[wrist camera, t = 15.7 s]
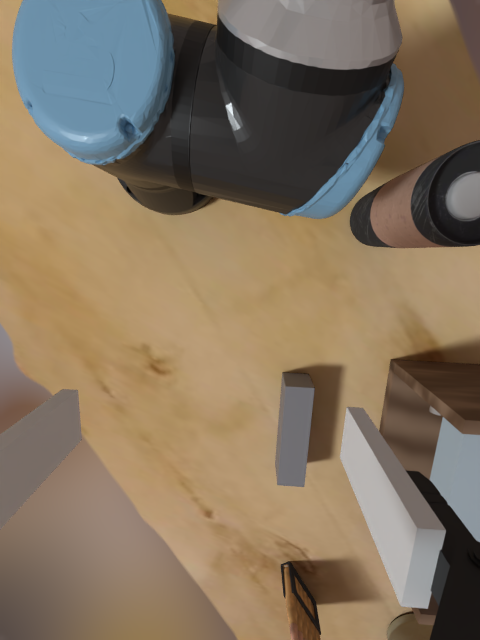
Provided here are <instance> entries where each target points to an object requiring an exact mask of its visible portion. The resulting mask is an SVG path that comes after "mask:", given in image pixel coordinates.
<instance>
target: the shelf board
mask: <svg viewBox="0 0 480 640" xmlns="http://www.w3.org/2000/svg"><path fill="white" fill-rule="evenodd" d="M430 481H431V482H432V483H433V484H434V485H435V487H436V488H437V489H438V491H439V492H440V495H441V496H443V497H444V499H445V500H446V501H447V503H448V505H450V507H451V508H452V509H453V511H454V512H455V513H456V514H457V516H458V517H459V518H460V520H461V521H462V522H463V524H464V525H465V526H466V528H467V529H468V530H469V532H470V533H471V534H472V536H473V537H474V538H475V540H476V541H478V542H480V435H471V434H462V433H461V432H460V431H458V430H457V429H456V428H455V427H454V426H453V425H452V424H451V423H449V422H448V421H447V420H446V419H445V418H444V417H443V419H442V423H441V428H440V433H439V438H438V442H437V447H436V452H435V457H434V461H433V466H432V471H431V476H430Z"/></svg>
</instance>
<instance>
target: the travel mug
mask: <svg viewBox="0 0 480 640" xmlns="http://www.w3.org/2000/svg"><path fill="white" fill-rule="evenodd" d="M350 227H351V230H352V233H353V235H354V236H355V237H356V239H357V240H359V241H360V242H361V243H363V244H365V245H369V246H376V247H391V248H426V247H464V246H476V245H480V140H479V141H474V142H471V143H468V144H465V145H463V146H460V147H458V148H456V149H454V150H452V151H450V152H448V153H446V154H444V155H442V156H440V157H437V158H435V159H433V160H431V161H429V162H427V163H425V164H423V165H421V166H419V167H417V168H415V169H413V170H410V171H408V172H406V173H404V174H402V175H400V176H398V177H396V178H394V179H392V180H390V181H389V182H387V183H385V184H383V185H382V186H380V187H378V188H377V189H375V190H373V191H372V192H370V193H368V194H367V195H365V196H364V197H362V198H361V199H360V200H359V201H358V202H357V203H356V205H355V206H354V208H353V210H352V213H351V216H350Z"/></svg>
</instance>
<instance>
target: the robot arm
mask: <svg viewBox="0 0 480 640" xmlns="http://www.w3.org/2000/svg"><path fill="white" fill-rule="evenodd" d="M401 43H402V33H401V29H400V25H399V21H398V17H397V13H396V9H395V5H394V0H218V16H217V25H214V24H210V23H205V22H201V21H197V20H193V19H189V18H185V17H180V16H176V15H172V14H168V13H167V12H166V9H165V7H164V5H163V3H162V1H161V0H23V1H22V4H21V6H20V8H19V11H18V15H17V18H16V22H15V27H14V32H13V42H12V60H13V69H14V75H15V79H16V83H17V87H18V90H19V93H20V96H21V98H22V101H23V103H24V105H25V107H26V108H27V109H28V111H29V114H30V115H31V116H32V117H33V119H34V121H35V123H36V125H37V126H38V127H39V128H40V129H41V130H42V132H43V133H44V134H45V135H46V136H47V137H49V138H50V139H51V140H52V141H53V142H55V143H56V144H57V145H59V146H61V147H62V148H63V149H64V150H65V151H66V152H68V153H69V154H70V155H71V156H72V157H73V158H77V159H78V160H80V161H81V162H84V163H87V164H92V165H94V166H96V167H98V168H100V169H102V170H104V171H106V172H108V173H109V174H111V175H113V176H115V177H117V178H118V180H119V182H120V183H121V185H122V186H123V188H124V189H125V190H126V192H127V193H128V194H129V195H130V196H131V197H132V198H133V199H134V200H136V201H137V202H138V203H140V204H141V205H143V206H144V207H146V208H148V209H151V210H153V211H156V212H159V213H162V214H167V215H182V214H187V213H190V212H193V211H195V210H197V209H199V208H201V207H203V206H204V205H205V204H207V203H208V202H209V201H210V200H211V199H212V198H213V197H216V198H220V199H224V200H228V201H233V202H237V203H241V204H245V205H249V206H254V207H258V208H262V209H266V210H270V211H275V212H279V213H280V214H282V215H284V216H287V215H288V216H294V215H297V216H303V217H308V218H314V219H322V218H327V217H330V216H333V215H334V214H336V213H338V212H339V211H340V210H342V209H343V208H344V207H345V206H346V205H347V204H348V203H349V202H350V201H351V200H352V199H353V197H354V196H355V195H356V194H357V192H358V191H359V190H360V188H361V187H362V186H363V184H364V183H365V181H366V180H367V178H368V176H369V175H370V173H371V172H372V170H373V168H374V166H375V165H376V163H377V161H378V159H379V157H380V155H381V153H382V151H383V149H384V146H385V145H384V141H385V138H386V137H387V135H388V134H389V132H390V131H391V129H392V128H393V126H394V123H395V121H396V118H397V115H398V112H399V109H400V106H401V102H402V97H403V92H404V80H403V76H402V72H401V71H400V70H399V69H398V68H397V67H396V65H395V64H393V61H394V59H395V57H396V55H397V53H398V51H399V48H400V46H401ZM81 440H82V436H81V423H80V411H79V398H78V390H70V389H62V390H61V391H59V392H58V393H57V394H55V395H54V396H52V397H51V398H50V399H49V400H47V401H46V402H45V403H43V404H42V405H40V406H39V407H37V408H36V409H35V410H33V411H32V412H31V413H29V414H28V415H26V416H25V417H24V418H22V419H21V420H20V421H18V422H17V423H16V424H14V425H13V426H11V427H10V428H9V429H7V430H6V431H4V432H3V433H2V434H0V529H1V528H2V527H3V526H4V525H5V524H6V522H7V521H8V520H9V519H10V518H11V517H12V516H13V515H14V514H15V513H16V511H17V510H18V509H19V508H20V507H21V506H22V505H23V504H24V503H25V502H26V500H27V499H28V498H29V497H30V496H31V495H32V494H33V493H34V492H35V490H36V489H37V488H38V487H39V486H40V485H41V484H42V483H43V482H44V481H45V480H46V478H47V477H48V476H49V475H50V474H51V473H52V472H53V471H54V470H55V469H56V467H57V466H58V465H59V464H60V463H61V462H62V461H63V460H64V459H65V458H66V456H67V455H68V454H69V453H70V452H71V451H72V450H73V449H74V448H75V447H76V445H77V444H78V443H79V442H80V441H81ZM340 458H341V461H342V463H343V466H344V468H345V471H346V473H347V476H348V478H349V480H350V483H351V485H352V488H353V490H354V493H355V495H356V498H357V500H358V503H359V505H360V507H361V510H362V512H363V515H364V517H365V520H366V522H367V525H368V527H369V529H370V532H371V534H372V537H373V539H374V542H375V544H376V547H377V549H378V552H379V554H380V556H381V559H382V561H383V564H384V566H385V569H386V571H387V574H388V576H389V578H390V581H391V583H392V586H393V588H394V591H395V593H396V596H397V598H398V601H399V603H400V605H401V606H402V607H413V608H425V609H428V606H429V602H430V597H431V593H432V594H433V596H434V598H435V600H436V602H437V604H438V606H439V607H438V611H437V615H436V618H435V622H434V625H433V629H432V633H431V636H430V640H480V542H478V541H476V540H475V538H474V537H473V536H472V534H471V533H470V532H469V530H468V529H467V528H466V526H465V525H464V524H463V522H462V521H461V520H460V518H459V517H458V516H457V514H456V513H455V512H454V511H453V509H452V508H451V507H450V505H448V503H447V501H446V500H445V499H444V497H443V496H441V495H440V492H439V491H438V489H437V488H436V487H435V485H434V484H433V483H432V482H431V481H430V480H429V479H428V478H426V477H425V476H424V475H423V474H421V473H420V472H419V471H407V470H405V469H404V468H403V466H402V465H401V463H400V462H399V460H398V459H397V457H396V456H395V454H394V453H393V451H392V450H391V448H390V447H389V446H388V444H387V443H386V441H385V440H384V438H383V437H382V435H381V434H380V432H379V431H378V429H377V428H376V426H375V425H374V423H373V422H372V420H371V419H370V418H369V416H368V415H367V413H366V412H365V410H364V409H363V408H356V407H347V409H346V417H345V424H344V432H343V439H342V447H341V454H340Z"/></svg>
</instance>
